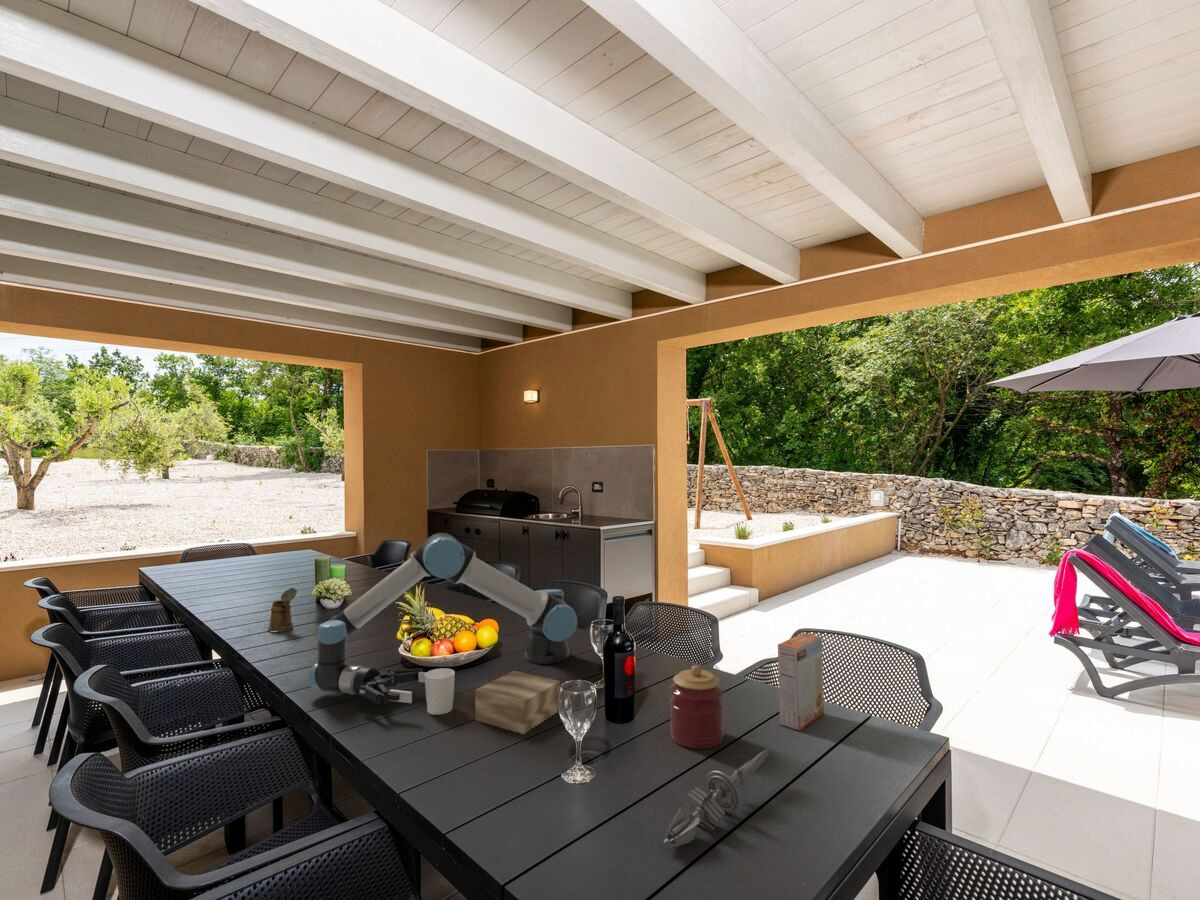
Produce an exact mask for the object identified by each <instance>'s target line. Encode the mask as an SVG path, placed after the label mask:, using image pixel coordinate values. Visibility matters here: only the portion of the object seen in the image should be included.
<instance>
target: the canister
mask: <svg viewBox="0 0 1200 900" xmlns="http://www.w3.org/2000/svg"><path fill="white" fill-rule="evenodd" d="M672 680H673V683H672V684H671V685H670V686H669V691H670V693H671V698H670V700H669V704H670V724H669V725H670V726H669V732H670V737H671V739H672V740H673V742H675V743H676V744H677V745H679V746H682V747H685V748H687V749H694V750H707V749H712V748H716V747H718V746H719V745H721V744H722V742H723V738H724V734H725V733H724V730H725V729H724V721H723V719H724V716H723V715H724V714H723V709H724V703H723V701H722V696H723V695H724V689H723V688H722V687H721V686H720V682H721V681H720V678H719V677H718V676H717V675H715V674H713V673H712V672H710V671H708V670H705V669H702V668H701V666H700V665H698V664H693V665H692V666H691V668H689V669H684V670H681V671H680V672H679V673H677V674H675V675H674V676H673V678H672Z"/></svg>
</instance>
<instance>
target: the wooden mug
mask: <svg viewBox="0 0 1200 900" xmlns="http://www.w3.org/2000/svg"><path fill="white" fill-rule="evenodd" d="M297 591H298V589H296V588H293V587H290V588H289V589H286V590H285V591H284V592H283V593H282V594H281V595H280V600H275V601H273V602H272V605H271V607H270V610H271V612H270V617H269V618H270V619H269V626H268V628H267V631H268V630H269V631H284V630H288V629H291V628H292V629H293V628H294V623H293V622H292V621H293V620H292V614H291V613H292V611H291V609H292V607H291V601H292V600H293V599H294V598H295V597H296V595H297V593H298V592H297ZM292 629H291V630H292ZM288 631H289V630H288ZM284 632H285V631H284Z"/></svg>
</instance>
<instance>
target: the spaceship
mask: <svg viewBox="0 0 1200 900" xmlns="http://www.w3.org/2000/svg"><path fill="white" fill-rule="evenodd" d="M770 752H771V749H770V748H766V749H764V750H763V751H761V752H759V753H758V754H757V755H756V756H754V757H753V758H751V759H750V760H747V761H746V762H745V763H744V764H742V765H741V766H740V767H738V768H737V769H736V770H734V771H732V774H731V775H730V776H728V775H727V774H726V773H725V772H722V771H720V770H712V771H710V772H709V773H708V774H707V775H706V777H705V789H706V792H707V793H706V792H704V791H703V790H702V789H700V788H698V786H696V787H695V788H694V790H693V789H692V790H691V791H690V792H691V793H690V792H689V793H688V794H687V795H688V796H689V797H690V798H689V799H688V801H689V802H690V803H691V804H692V805H691V804H690V803H689V802H688V801H685V802H684V804H685V805H686V806H687V807H682V806H681V807H680V808H679V810H678V811H677V813H676V815H675V816H674V818H673V820H672V821H671V823H670V825H669V827H668V830H667V832H666V834H665V835H664V836H665V838H664V840H663V843H664V844H665V843H667V848H669V849H671V848H674V847H676V848H678V847H680V846H682V845H686V844H688V843H691V842H690V841H691V840H693V841H694V837H695V834H696V831H697V826H698V825H699V823H702V824H704V825H706V826H707V827H708V828H710V829H711V830H713V831H714V830H715V829H716V828H715V827H719V824H722V822H723V821H722V820H721V818H722V817H723V816H724V815H725V814H726V812H727V814H734V813H736V812H738V811H739V809H740V807H741V793H740V791H739V789H738V787H740V786H742V785H744V783H745V780H747V779H748V778H749V777H750V776H751V775H753V774H754V772H756V771H757V770H758V769H759V768H760V766H762V764H763V763H764V762H765V761H766V760H767V759H768V756H769V754H770ZM716 782H717V784H718V785H717V784H716ZM695 790H696V791H695ZM697 791H698V792H699V793H698V792H697ZM693 794H694V795H693ZM701 794H702V795H701ZM730 795H731V796H730ZM697 797H698V798H697ZM693 800H694V801H695V802H696V803H697V804H696V803H695V802H694V801H693ZM728 800H730V801H728ZM693 807H694V808H693ZM695 809H696V810H695ZM717 810H718V811H717ZM724 811H725V812H724ZM719 812H720V813H721V814H722V815H723V816H722V815H721V814H720V813H719ZM714 813H715V814H716V815H717V816H716V815H715V814H714ZM710 817H711V818H710ZM700 821H701V822H700ZM718 823H719V824H718ZM713 825H714V826H713Z"/></svg>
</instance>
